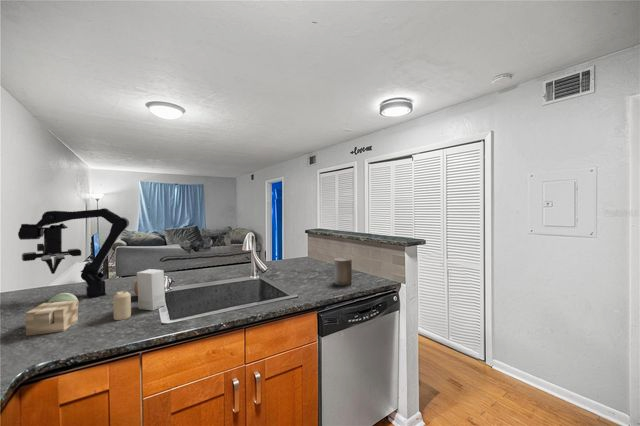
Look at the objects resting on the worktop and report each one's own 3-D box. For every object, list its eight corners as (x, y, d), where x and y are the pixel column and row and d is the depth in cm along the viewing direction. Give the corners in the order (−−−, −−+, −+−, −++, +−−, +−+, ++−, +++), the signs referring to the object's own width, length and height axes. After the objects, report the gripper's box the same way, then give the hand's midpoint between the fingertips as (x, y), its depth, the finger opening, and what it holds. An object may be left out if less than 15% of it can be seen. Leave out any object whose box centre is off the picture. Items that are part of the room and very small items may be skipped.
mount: (44, 323, 102) (43, 302, 101) (78, 319, 105) (77, 299, 105) (26, 335, 92) (25, 313, 92) (63, 331, 95) (63, 309, 95)
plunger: (49, 317, 104) (48, 294, 103) (79, 314, 107) (78, 291, 106) (24, 335, 90) (23, 307, 90) (58, 330, 93) (58, 304, 93)
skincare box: (165, 305, 119) (165, 269, 119) (151, 311, 113) (151, 273, 112) (151, 303, 122) (150, 268, 121) (136, 308, 116) (136, 271, 115)
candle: (112, 321, 103) (111, 294, 103) (115, 316, 108) (114, 290, 108) (130, 318, 106) (129, 292, 106) (132, 313, 111) (131, 288, 111)
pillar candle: (355, 283, 154) (355, 256, 154) (343, 287, 147) (343, 258, 147) (342, 280, 161) (342, 254, 161) (330, 283, 154) (330, 256, 154)
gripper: (76, 235, 136) (76, 267, 137) (20, 238, 122) (20, 274, 122) (81, 237, 129) (81, 271, 130) (23, 241, 115) (23, 278, 115)
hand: (53, 273), depth 125 cm, fingers closed
